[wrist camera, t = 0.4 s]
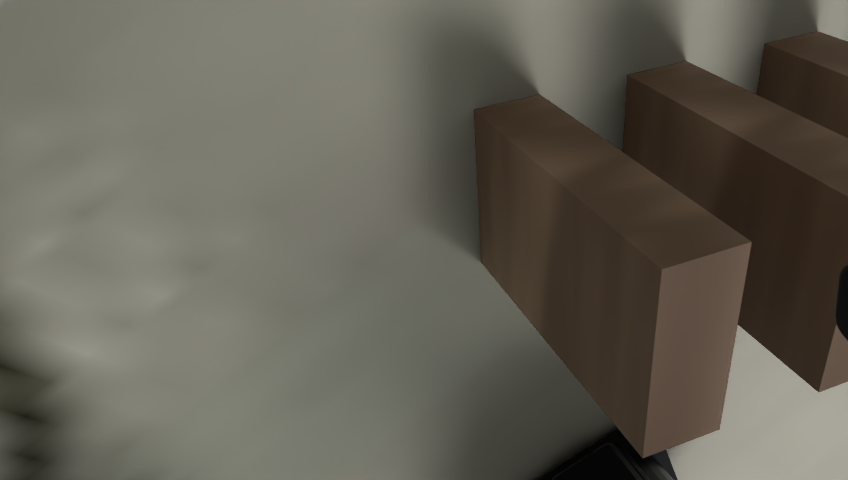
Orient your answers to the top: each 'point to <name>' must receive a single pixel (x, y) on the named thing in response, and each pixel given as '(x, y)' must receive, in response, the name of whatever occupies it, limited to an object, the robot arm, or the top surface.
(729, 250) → the domino
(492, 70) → the top surface
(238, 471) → the top surface
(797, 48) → the domino
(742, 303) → the domino
